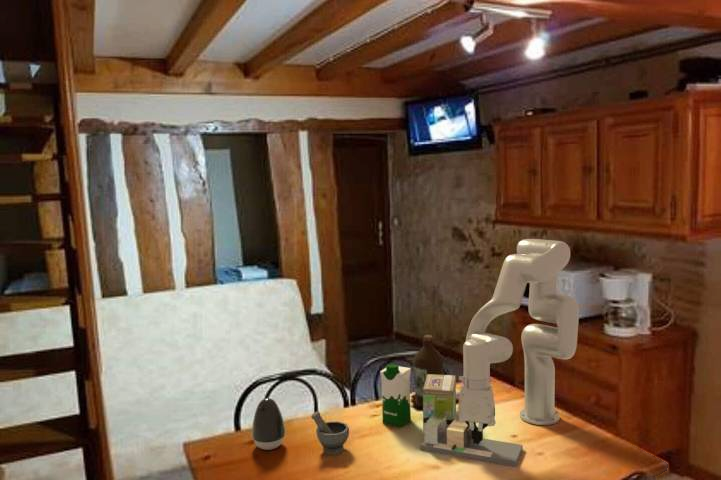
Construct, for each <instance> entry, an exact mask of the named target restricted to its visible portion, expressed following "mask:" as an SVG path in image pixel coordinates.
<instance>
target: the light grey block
mask: <svg viewBox="0 0 721 480" xmlns="http://www.w3.org/2000/svg"><path fill="white" fill-rule="evenodd" d="M423 434H424V440H425V444H428V445H433V446H434V445H435V446H438V445H439V443H440V442H441V441H442V439H443V438H444V437H445V435H446V434H447V431H446V415H441V414H433V415H432V416H431V417H430V419H429V420H428V421H427V422H426V423H425V425H424V433H423Z"/></svg>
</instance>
